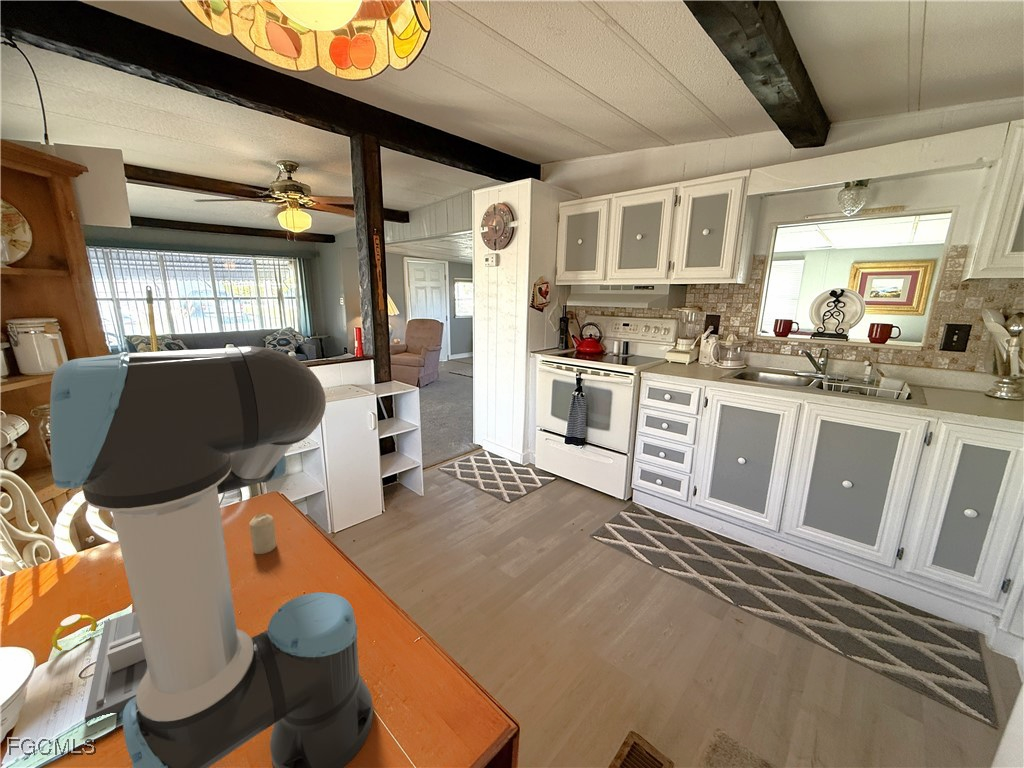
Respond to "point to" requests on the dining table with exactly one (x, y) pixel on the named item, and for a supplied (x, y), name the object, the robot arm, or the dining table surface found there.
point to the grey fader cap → (125, 652)
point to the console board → (120, 685)
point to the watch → (71, 622)
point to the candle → (262, 533)
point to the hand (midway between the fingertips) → (184, 614)
